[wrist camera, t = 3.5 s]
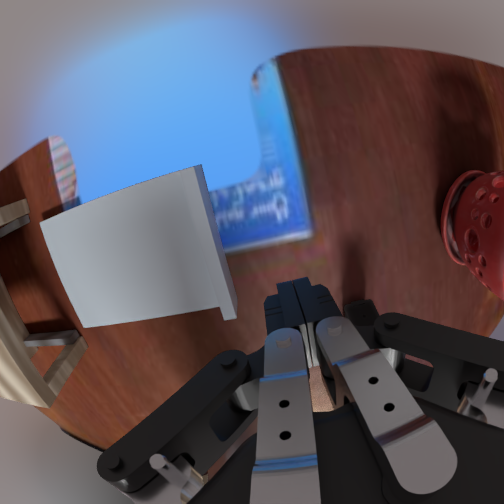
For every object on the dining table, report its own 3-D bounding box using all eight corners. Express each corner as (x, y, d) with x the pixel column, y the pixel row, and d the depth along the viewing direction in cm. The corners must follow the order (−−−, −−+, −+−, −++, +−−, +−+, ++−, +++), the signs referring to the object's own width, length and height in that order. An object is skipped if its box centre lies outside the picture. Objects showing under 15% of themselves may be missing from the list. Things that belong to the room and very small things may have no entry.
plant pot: (466, 278, 29) (521, 323, 18) (413, 230, 27) (485, 274, 16) (506, 201, 26) (567, 226, 14) (461, 138, 23) (538, 146, 12)
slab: (201, 164, 25) (193, 166, 21) (237, 297, 29) (236, 318, 26) (45, 220, 26) (24, 229, 22) (88, 322, 30) (74, 340, 27)
